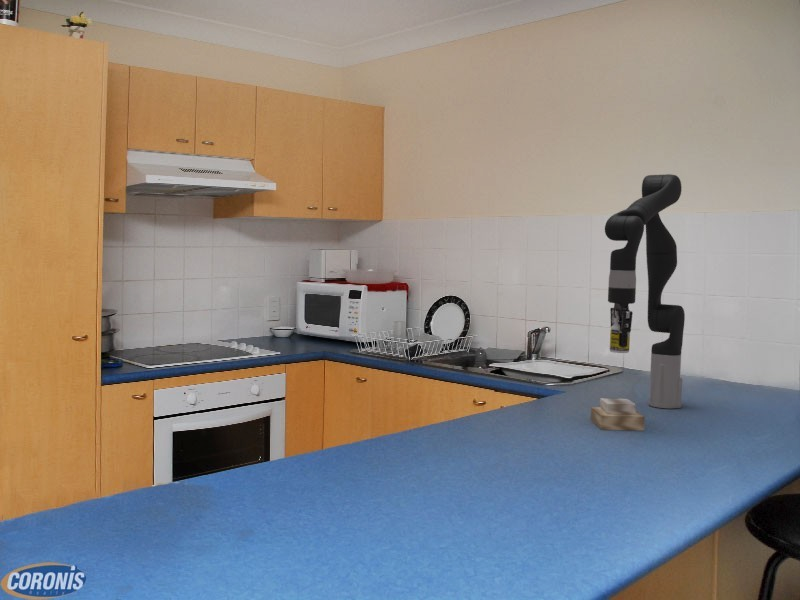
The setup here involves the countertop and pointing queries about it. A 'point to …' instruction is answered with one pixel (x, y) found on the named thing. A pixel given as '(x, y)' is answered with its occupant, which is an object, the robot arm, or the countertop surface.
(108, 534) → the countertop surface
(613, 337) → the supplement bottle
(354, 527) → the countertop surface
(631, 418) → the tower base
